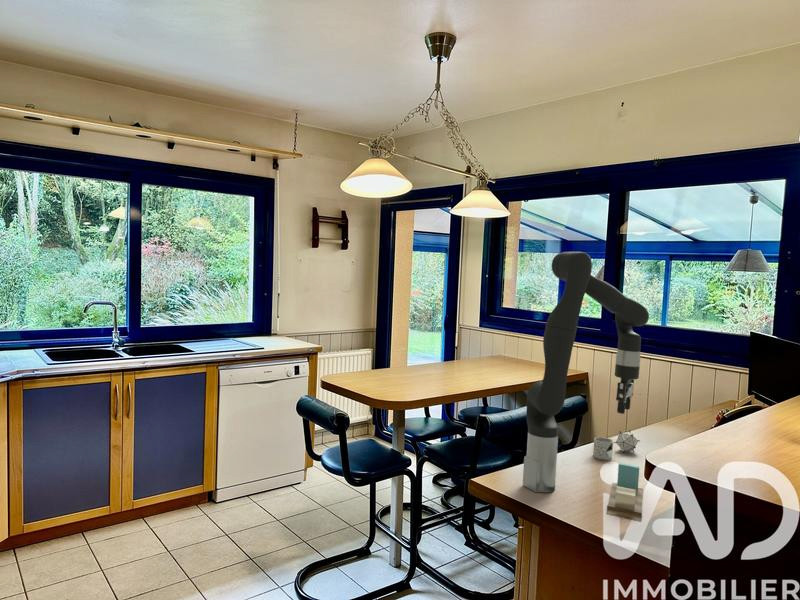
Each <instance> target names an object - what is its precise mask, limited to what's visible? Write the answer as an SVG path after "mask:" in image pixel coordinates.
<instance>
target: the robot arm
mask: <svg viewBox="0 0 800 600" xmlns="http://www.w3.org/2000/svg"><path fill="white" fill-rule="evenodd" d="M592 262H593V261H592V259H591V257H590V255H589V254H588V253H586V252H583V251H563V252H559V253H557V254H556V255H554V257H553V259H552V261H551V270H552V273H553V275H554V276H555V277H556V278H557V279H559V280H561V281H563V282H565V285H564V290H563V294H562V296H561V298H560V300H559V302H557V304H556V305H555V307H554V308H553V309H552V311H551V312H550V314H549V316H548V317H547V319H546V323H545V329H544V333H543V340H542V341H543V342H542V345H543V355H544V373H543V378H542V381H540V380H539V381H536V382H534V383H532V384H531V386H530V387H529V389H528V391H527V395H526V424H527V442H526V455H525V456H524V458H523V470H522V471H523V474H522V486H523V487H525V488H527V489H529V490H530V491H532V492H534V493H552V492H554V491H555V490H556V478H557V460H558V443H559V426H558V422H557V421H556V419H555V416H556V415H558V414H559V413H560V411H561V410H562V409H563V407H564V405H565V402H566V401H565V399H566V393H567V381H568V380H567V379H568V373H569V372H568V371H569V369H570V361H571V358H572V357H571V356H572V351H573V347H574V343H575V339H576V335H577V330H578V324H579V323H578V322H579V319H580V313H581V310H582V306H583V300H584V297H585V294H586V295H587V296H589V297H590V298H592V299H593V300H594V301H596V302H597V303H598V304H599V305H601V306H602V307H603V308H605V309H606V310H607V311H609V312H610V313H612V314H615V315H614V319H615V320H614V321H615V326H616V331H617V336H618V337H617V338H618V340H617V351H616V354H615V364H614V365H615V366H614V376H615V377H616V378H620V382H618V383H617V389H616V396H615V397H616V398H615V400H616V401H617V409H616V412H617V413H618V414H622V415H624V414H625V412H626V411H625V410H627V411H628V410H630V409H631V399H632V397H633V396H634V383H635V380H638V379H639V378H640V366H641V346H642V345H641V343H642V337H641V335H640V334H638V333H636V332H634V330H633V327H643V326H645V325H646V324H647V323H648V321H649V318H650V316H649V315H650V314H649V312H648V309H647V308H646V307H645V306H644V305H643V304H641V303H640V302H638V301H636V300H634V299H632V298H629V297H627V296H625V294H623V292H621V291H620V290H618V288H616V287H615V286H613V285H612V284H610V283H609V282H607V281H604V280H602V279H601V278H597V277H596V276H594V275H592V269H593V263H592Z"/></svg>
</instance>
